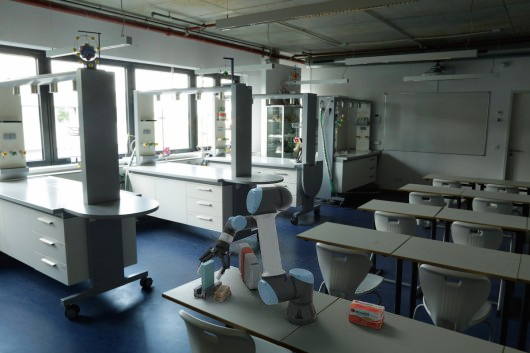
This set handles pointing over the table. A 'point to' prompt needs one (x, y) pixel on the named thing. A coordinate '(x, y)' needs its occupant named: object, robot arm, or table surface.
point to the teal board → (207, 274)
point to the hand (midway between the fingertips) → (207, 276)
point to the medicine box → (366, 314)
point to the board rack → (206, 290)
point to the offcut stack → (222, 293)
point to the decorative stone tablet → (249, 266)
